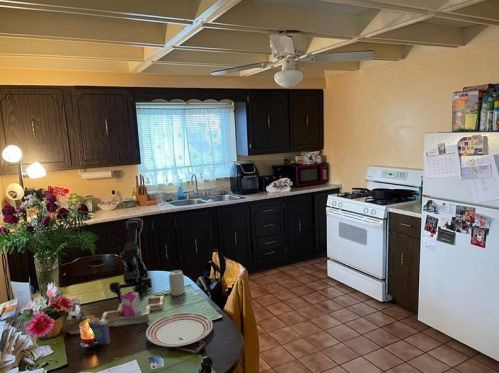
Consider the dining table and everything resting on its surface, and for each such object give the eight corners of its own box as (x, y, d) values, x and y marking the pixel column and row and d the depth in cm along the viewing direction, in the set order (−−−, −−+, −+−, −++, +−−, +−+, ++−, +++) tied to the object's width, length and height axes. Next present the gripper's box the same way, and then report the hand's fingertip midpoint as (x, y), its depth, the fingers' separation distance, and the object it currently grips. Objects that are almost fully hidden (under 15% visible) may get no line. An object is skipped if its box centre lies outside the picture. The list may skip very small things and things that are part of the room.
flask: (111, 341, 155) (108, 317, 153) (107, 345, 152) (103, 320, 150) (92, 339, 157) (89, 315, 156) (88, 343, 154) (84, 319, 153)
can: (186, 290, 201) (184, 269, 200) (182, 296, 194) (180, 274, 192) (173, 290, 202) (171, 269, 201) (168, 296, 195) (166, 274, 193)
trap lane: (108, 307, 187) (108, 301, 187) (163, 299, 192) (163, 294, 191) (100, 328, 166) (99, 322, 166) (162, 319, 171) (161, 313, 170)
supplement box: (132, 313, 178) (129, 291, 176) (141, 315, 175) (139, 292, 174) (123, 319, 173) (120, 296, 171) (133, 321, 170) (130, 297, 168)
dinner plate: (209, 314, 174) (208, 307, 173) (216, 345, 147) (216, 337, 146) (148, 324, 168) (147, 317, 168) (145, 358, 141) (144, 350, 141)
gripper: (107, 266, 174) (106, 299, 164) (149, 261, 177) (149, 293, 168) (112, 276, 182) (111, 307, 173) (151, 271, 186) (152, 302, 176)
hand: (131, 302), depth 172 cm, fingers open, 9 cm apart
